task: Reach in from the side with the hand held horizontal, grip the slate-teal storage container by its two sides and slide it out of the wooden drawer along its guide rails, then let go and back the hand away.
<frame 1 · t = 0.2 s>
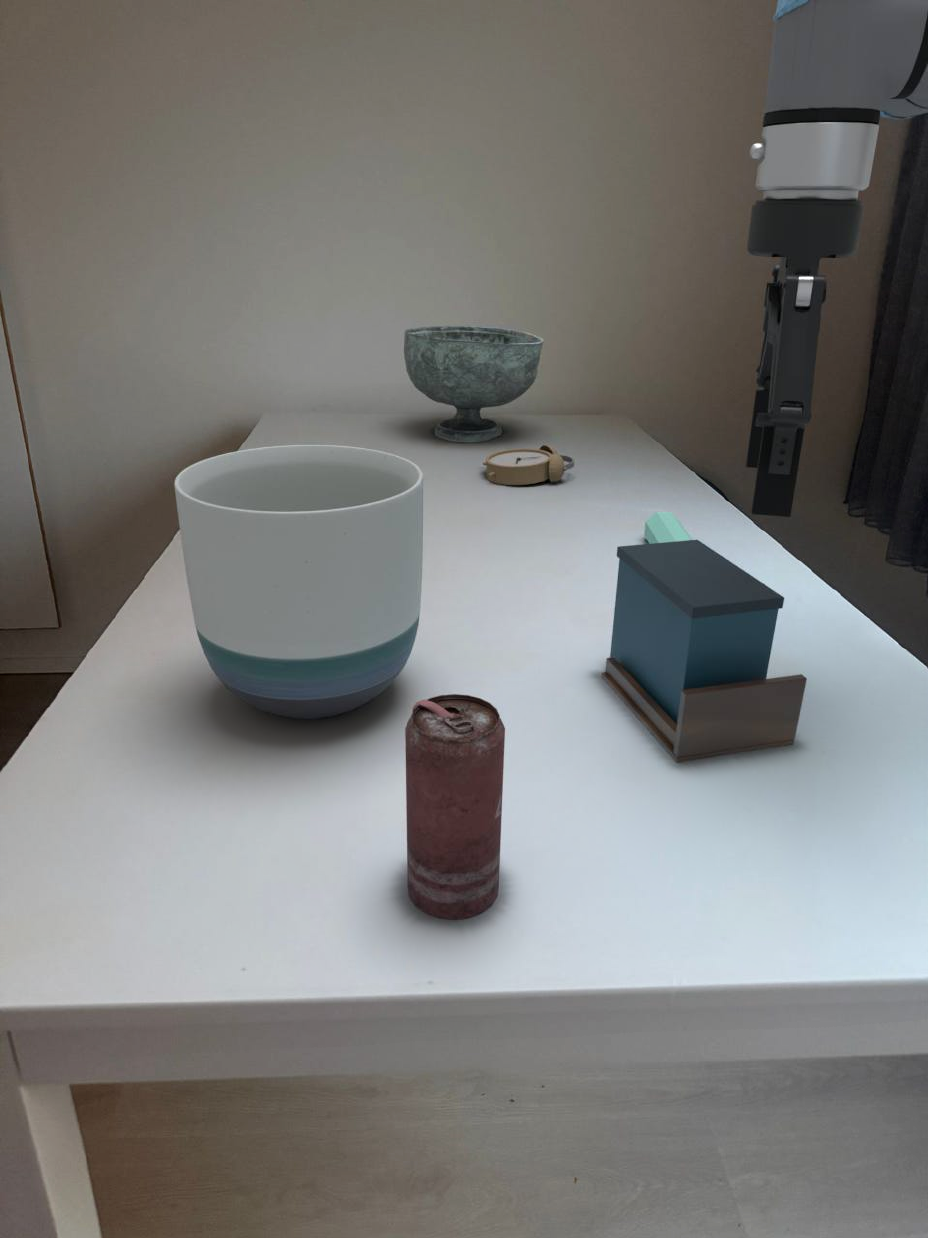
hand: (765, 489, 72), 22 cm above the table, tool pointing down, fingers open, 13 cm apart
wooden drawer: (688, 711, 83), on the table
can: (451, 895, 61), on the table
planter: (314, 699, 85), on the table
decorative bowl: (469, 435, 180), on the table
storage container: (687, 631, 82), point 7 cm above the table, slide at 2.0 cm
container: (677, 575, 114), on the table
alarm clock: (529, 478, 153), on the table
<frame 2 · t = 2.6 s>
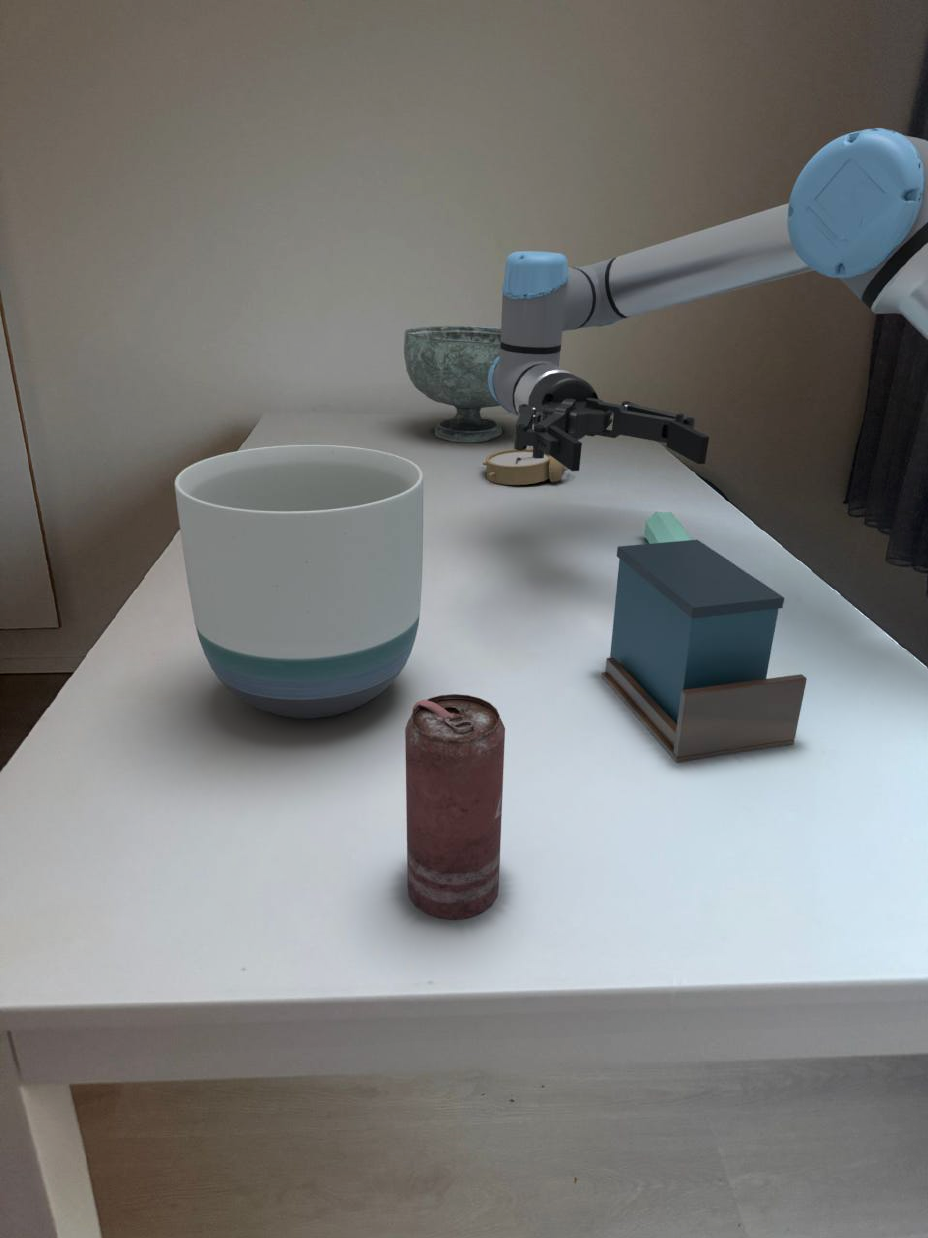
hand: (641, 453, 87), 20 cm above the table, tool horizontal, fingers open, 13 cm apart
nothing on the table moved.
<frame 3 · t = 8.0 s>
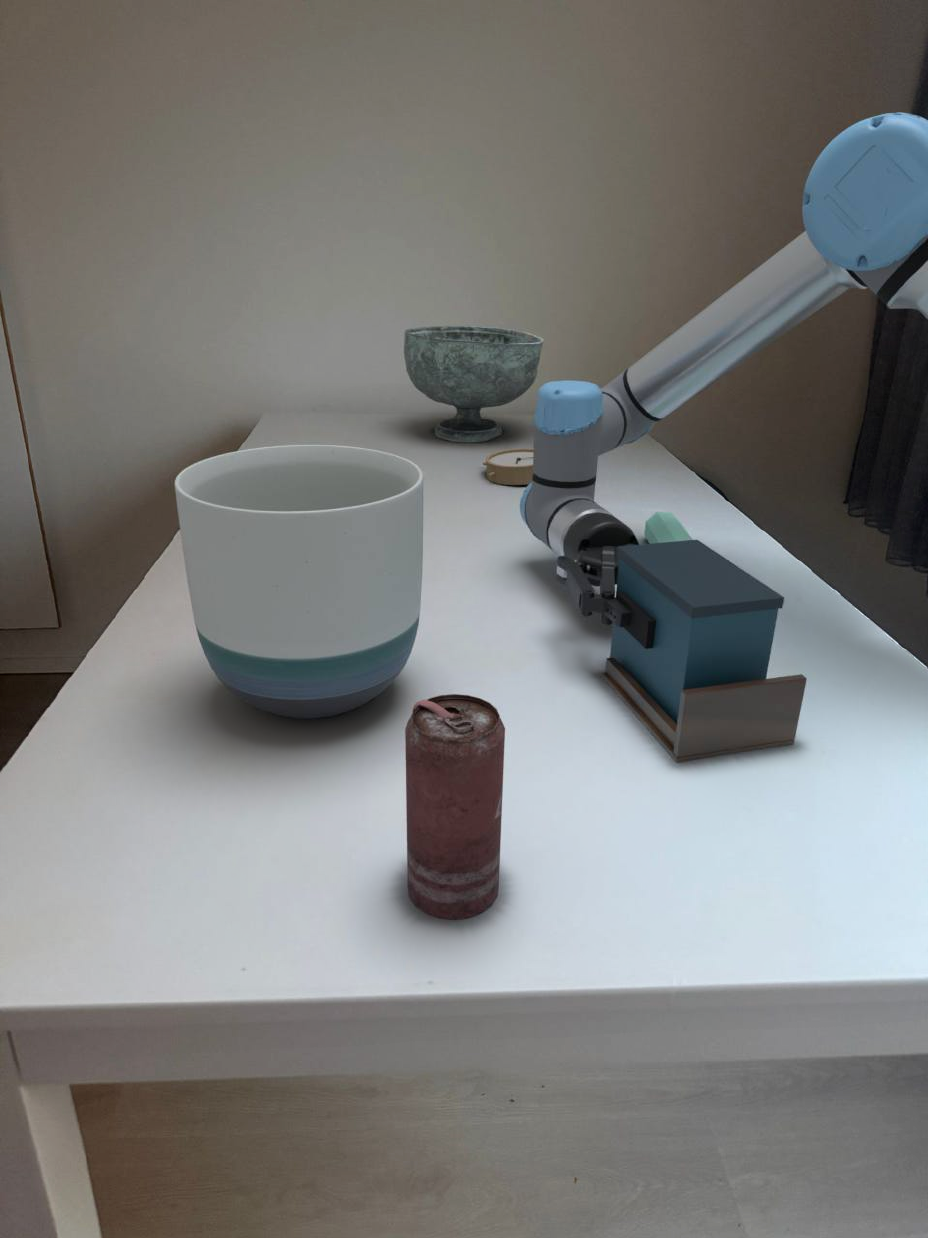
hand: (695, 629, 81), 8 cm above the table, tool horizontal, fingers closed on storage container, 8 cm apart
storage container: (687, 631, 82), point 7 cm above the table, slide at 2.0 cm, touching gripper
everything else where it was.
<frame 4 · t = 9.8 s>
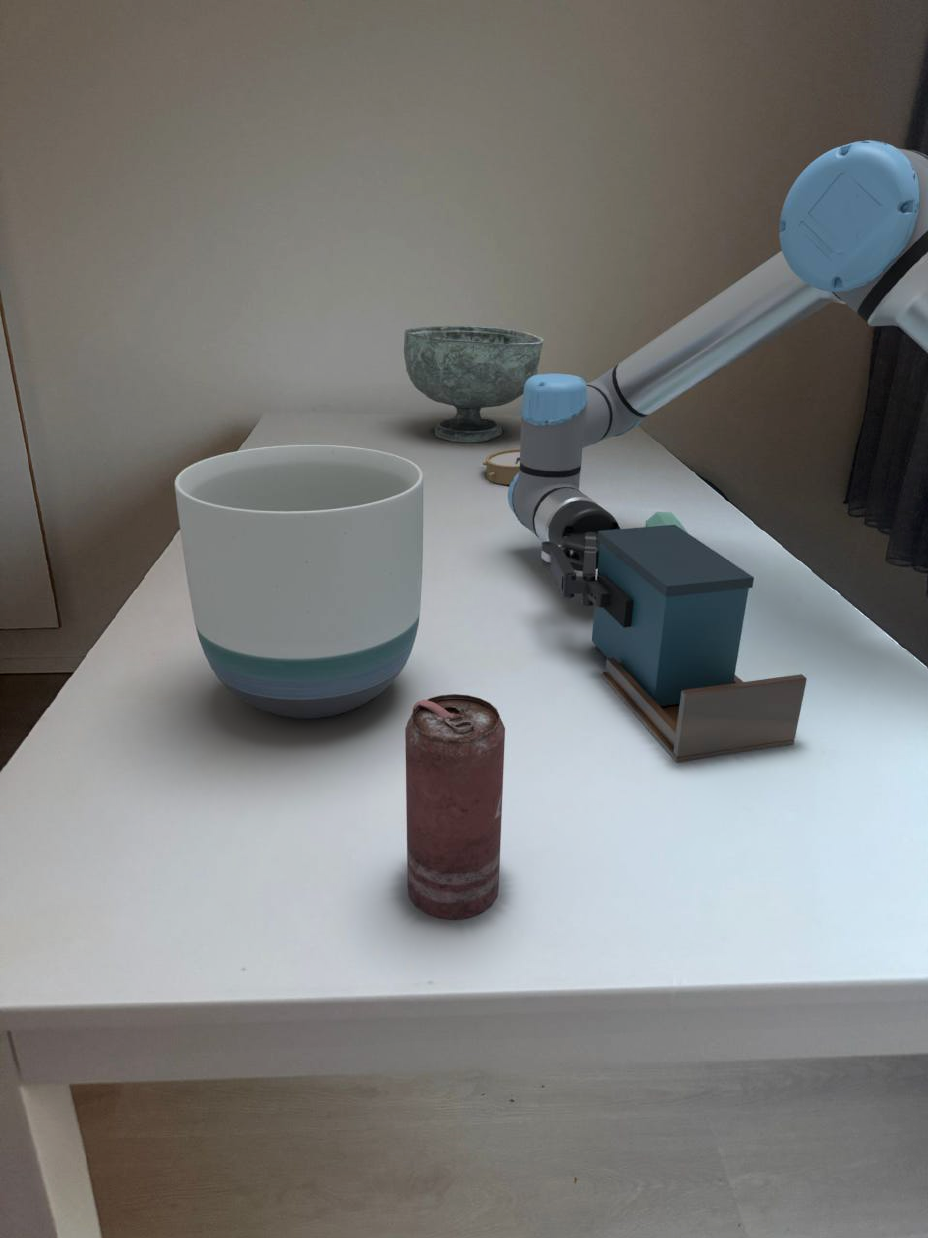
hand: (671, 609, 85), 8 cm above the table, tool horizontal, fingers closed on storage container, 8 cm apart
storage container: (664, 611, 86), point 7 cm above the table, slide at 6.5 cm, touching gripper
everything else where it was.
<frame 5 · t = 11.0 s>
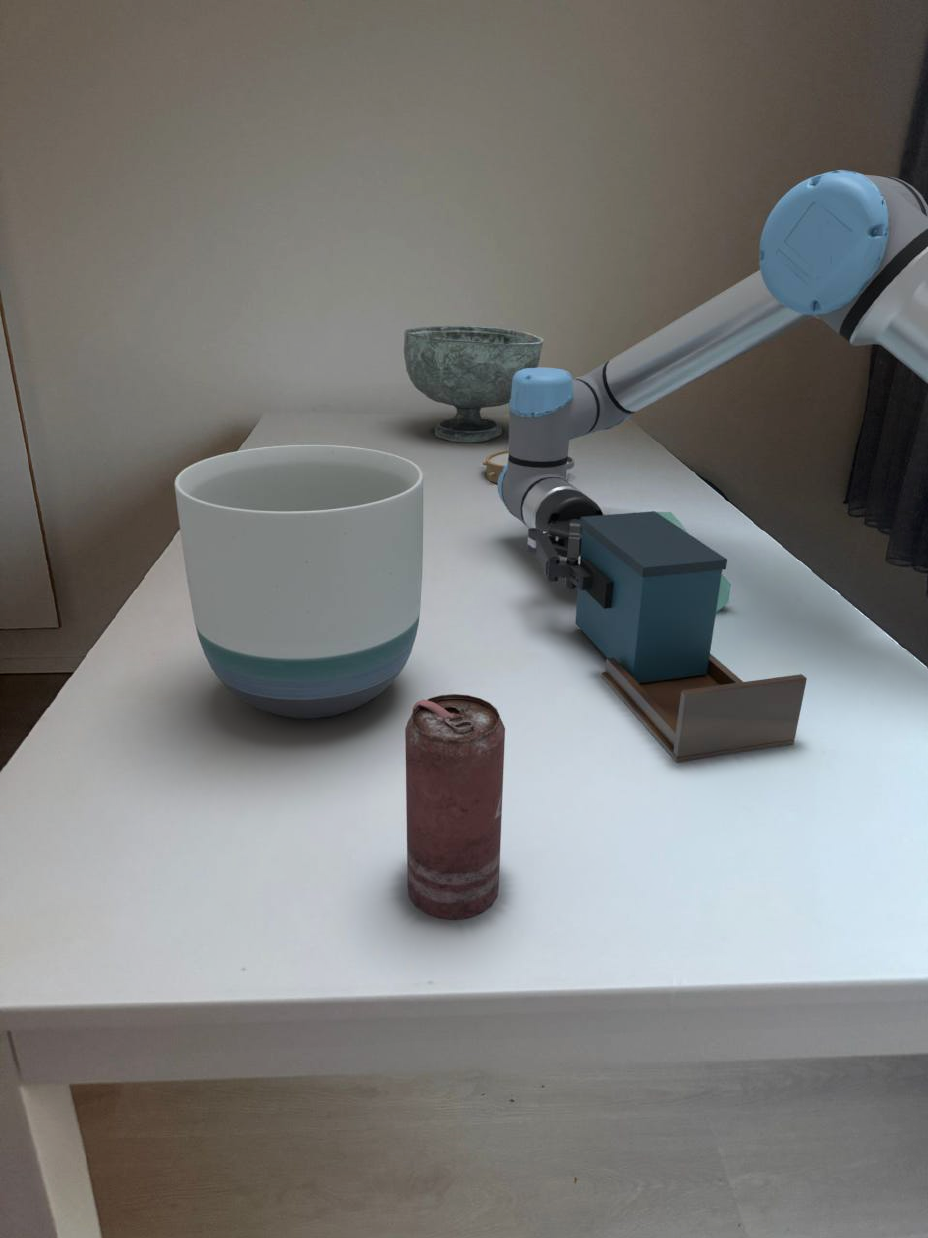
hand: (650, 591, 89), 8 cm above the table, tool horizontal, fingers closed on storage container, 8 cm apart
storage container: (643, 593, 90), point 7 cm above the table, slide at 10.9 cm, touching gripper
everything else where it was.
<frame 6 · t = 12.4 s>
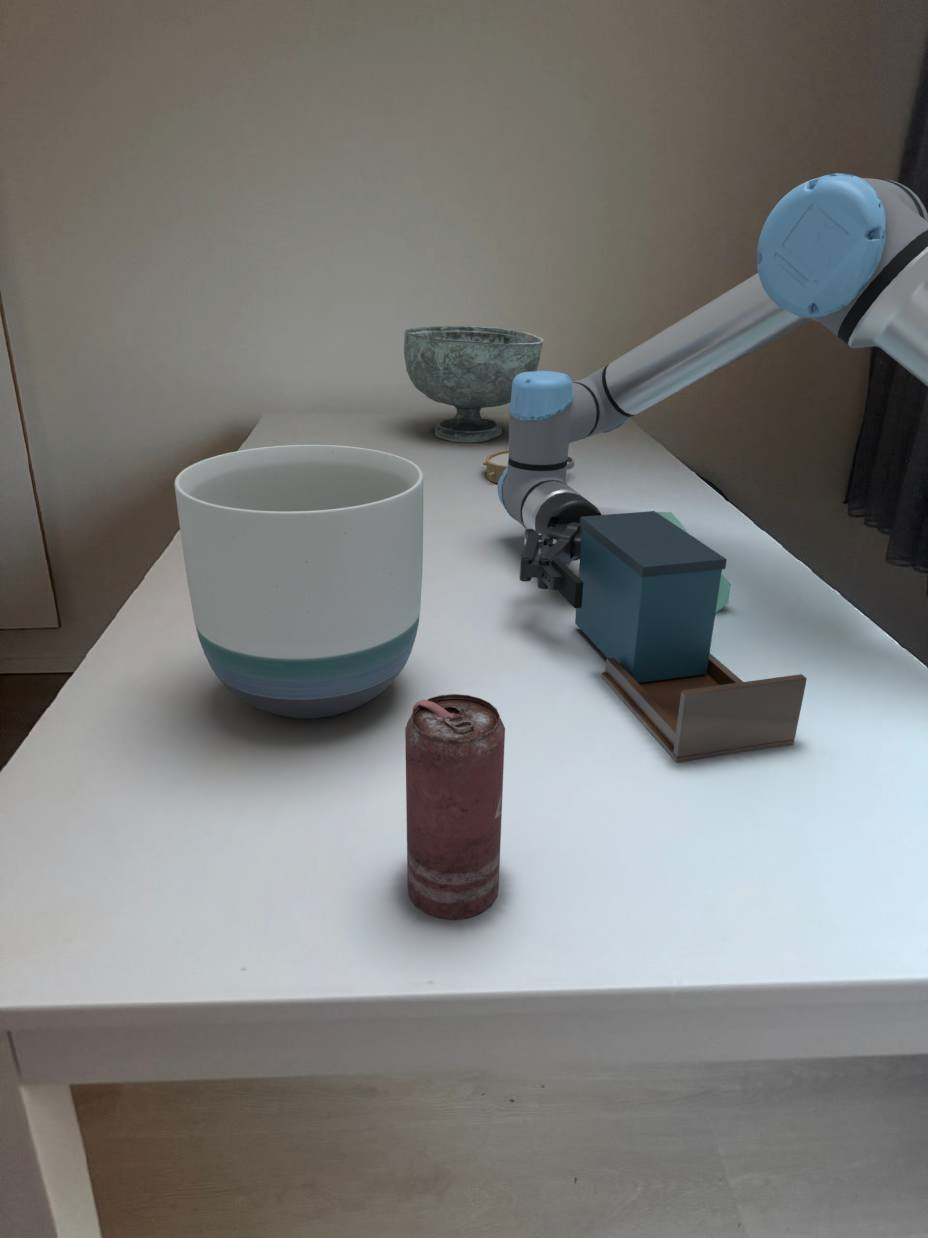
hand: (642, 589, 90), 8 cm above the table, tool horizontal, fingers open, 13 cm apart
storage container: (643, 593, 90), point 7 cm above the table, slide at 11.0 cm
everything else where it was.
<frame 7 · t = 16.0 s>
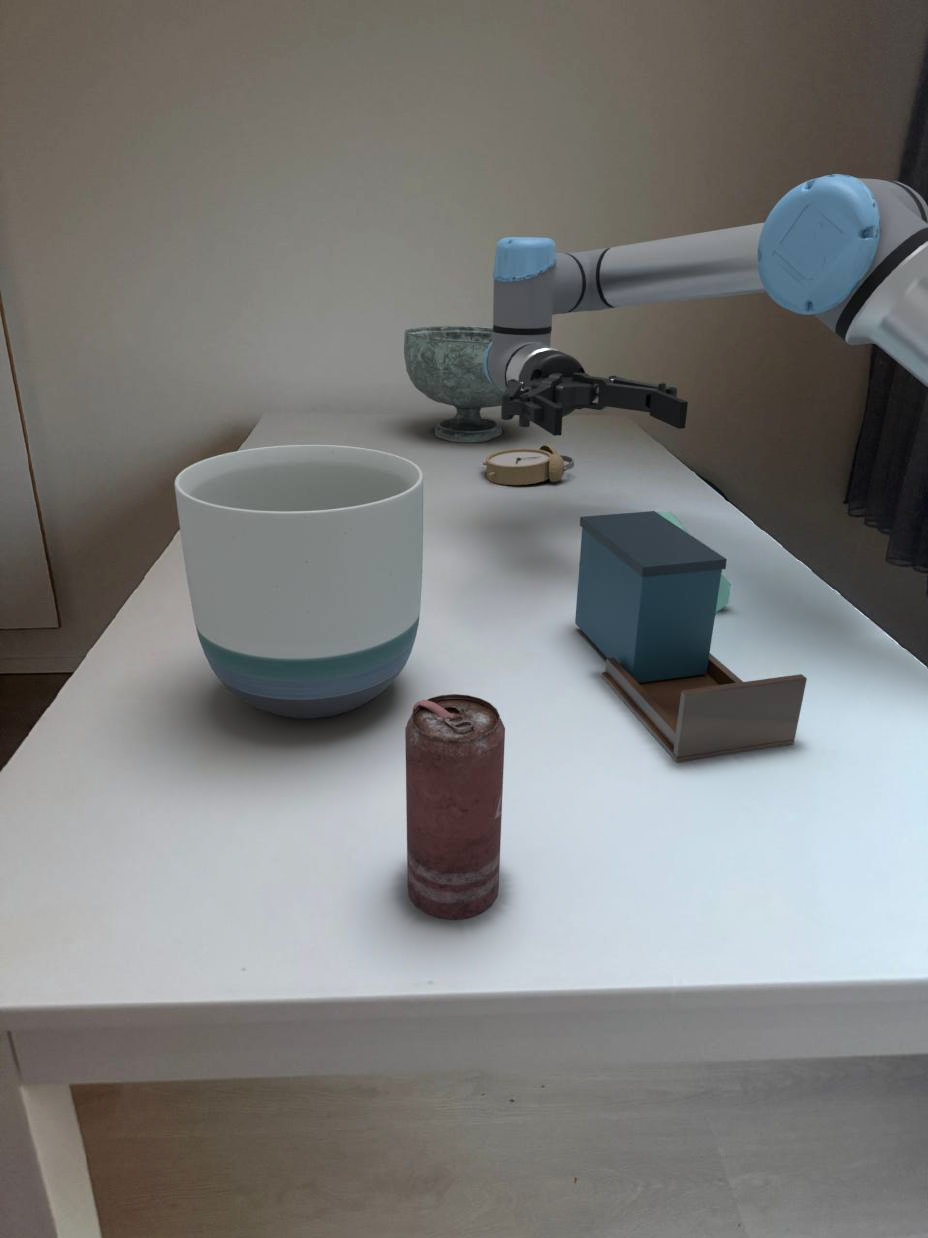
hand: (622, 418, 91), 23 cm above the table, tool horizontal, fingers open, 13 cm apart
nothing on the table moved.
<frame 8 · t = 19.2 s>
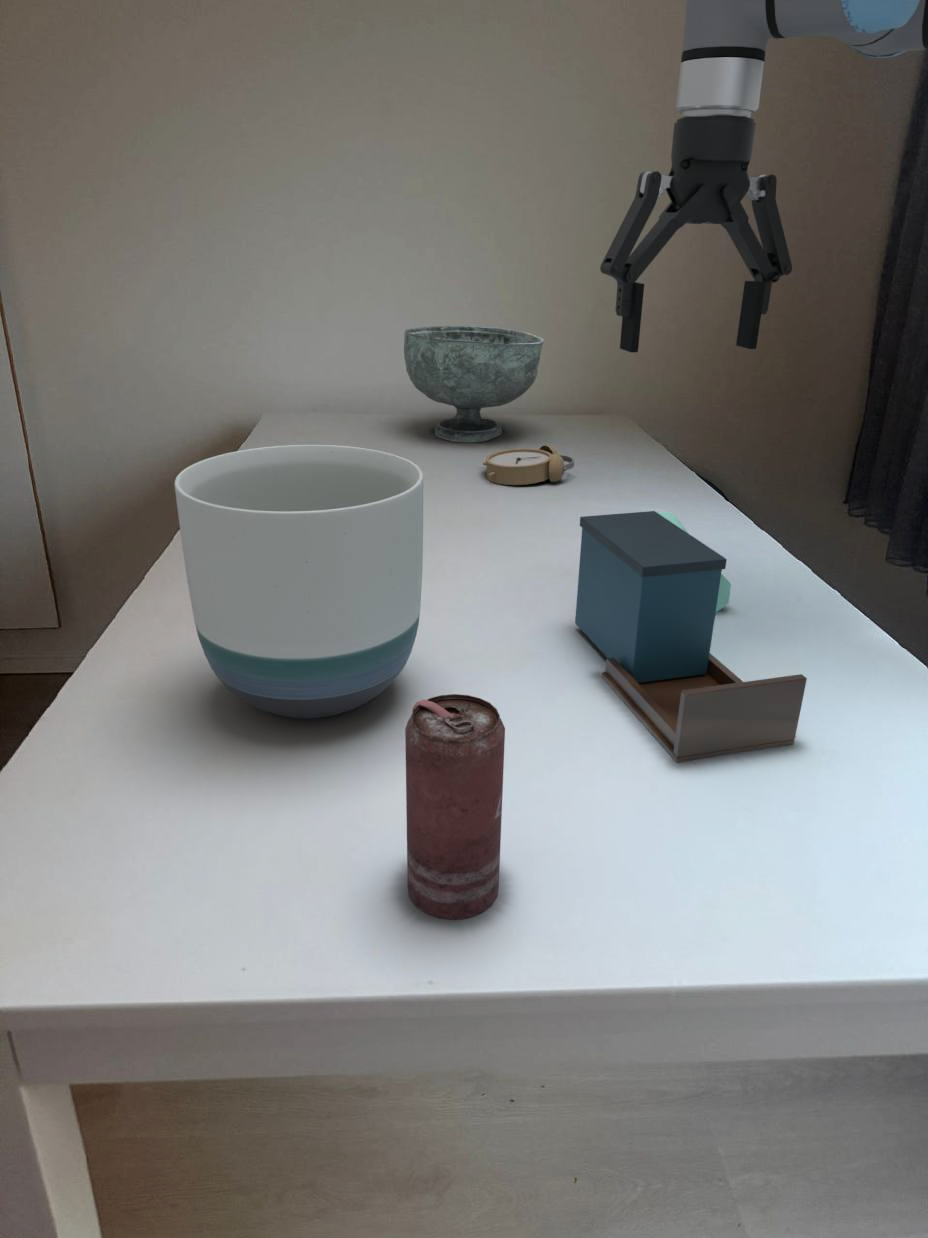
hand: (688, 349, 94), 29 cm above the table, tool pointing down, fingers open, 13 cm apart
nothing on the table moved.
at the end: storage container slide at 11.0 cm; the gripper is holding nothing; can moved 0.2 cm from its start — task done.
